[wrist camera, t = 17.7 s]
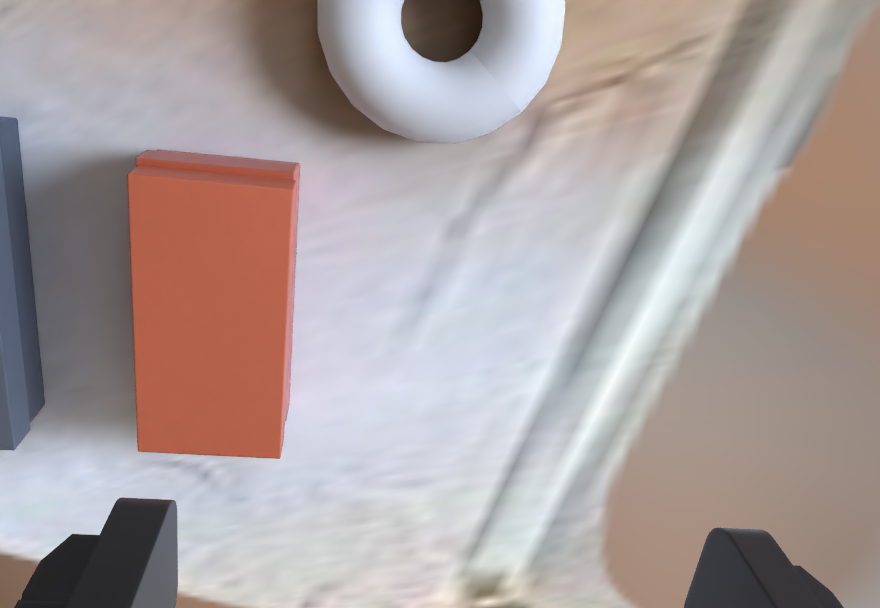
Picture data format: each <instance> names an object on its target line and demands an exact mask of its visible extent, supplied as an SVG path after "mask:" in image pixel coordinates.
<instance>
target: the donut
mask: <svg viewBox="0 0 880 608" xmlns="http://www.w3.org/2000/svg"><path fill="white" fill-rule="evenodd" d="M403 3H404V0H318V35H319V39H320V42H321V45H322V48H323V51H324V54H325V58H326V61H327V64H328V67H329V70H330V73H331V75H332V76H333V77H334V79H335V80H336V82H337V83H338V85H339V86H340V88H341V89H342V91H343V92H344V93H345V95H346V96H347V98H348V99H349V101H350V102H351V104H352V105H353V106H354V107H355V108H357V109H358V110H359V111H360V112H362V113H363V114H364V115H366V116H367V117H368V118H369V119H371V120H372V121H373V122H374V123H376V124H377V125H378V126H380V127H381V128H382V129H384V130H387V131H389V132H392V133H395V134H398V135H400V136H403V137H406V138H409V139H411V140H414V141H417V142H426V143H454V144H455V143H459V142H462V141H466V140H469V139H473V138H476V137H480V136H483V135H487V134H490V133H492V132H493V131H495V130H496V129H498V128H499V127H501V126H502V125H504V124H505V123H507V122H508V121H510V120H511V119H513V118H514V117H516V116H517V115H519V114H520V113H522V111H523V110H524V109H525V108H526V106H527V105H528V104H529V103H530V102H531V100H532V99H533V98H534V97H535V95H536V94H537V93H538V92H539V90H540V89H541V88H542V87H543V86H544V84H545V83H546V81H547V79H548V76H549V74H550V71H551V69H552V67H553V64H554V62H555V59H556V57H557V55H558V52H559V50H560V47H561V42H562V33H563V24H564V14H565V0H480V3H481V8H482V12H483V21H482V29H481V32H480V35H479V37H478V40H477V42H476V43H475V44H474V46H473V47H472V48H471V49H470V51H469V52H467V53H466V54H464V55H463V56H461V57H460V58H459V59H455V60H452V61H448V62H433V61H431V60H428V59H426V58H423V57H421V56H420V55H419V54H418V53H416V52H415V51H414V50H413V49H412V48H411V47H410V45H409V44H408V42H407V40H406V39H405V37H404V34H403V30H402V26H401V9H402V6H403Z"/></svg>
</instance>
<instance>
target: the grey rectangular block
mask: <svg viewBox="0 0 880 608" xmlns="http://www.w3.org/2000/svg"><path fill="white" fill-rule="evenodd" d="M44 404H45V401H44V391H43V381H42V371H41V360H40V350H39V340H38V329H37V319H36V309H35V299H34V288H33V278H32V268H31V257H30V247H29V237H28V227H27V216H26V206H25V196H24V185H23V175H22V165H21V155H20V144H19V134H18V124H17V119H16V118H9V117H0V450H15V449H16V447H17V446H18V445H19V443H20V442H21V441H22V440H23V438H24V437H25V436H26V434H27V433H28V432H29V430H30V422H31V421H32V420H33V418H34V417H35V416H36V415H37V413H38V412H39V411H40V409H41V408H42V407H43V406H44Z"/></svg>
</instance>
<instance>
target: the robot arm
mask: <svg viewBox="0 0 880 608" xmlns="http://www.w3.org/2000/svg"><path fill="white" fill-rule="evenodd" d="M177 587H178V560H177V506H176V502H175V501H174V500H159V499H138V498H119V499H118V500H117V501H116V503H115V505H114V507H113V509H112V511H111V513H110V515H109V517H108V519H107V521H106V523H105V525H104V527H103V529H102V532H101V534H100V535H80V534H72V535H71V536H70V537H68V538H67V539H66V540H65V541H64V542H62V543H61V544H60V545H59V546H58V547H57V548H55V549H54V550H53V551H52V552H51V553H49V554H48V555H47V556H46V557H45V558H44V559H42V560H41V561H40V563H39V565H38V566H37V568H36V570H35V572H34V574H33V575H32V577H31V579H30V581H29V582H28V584H27V586H26V588H25V590H24V591H23V593H22V599H21V600H18V602H17V604H16V606H15V607H14V608H175V606H176V599H177ZM684 608H843V606H842V605H841V604H840V602H839V601H838V600H837V598H836V597H835V596H834V594H833V593H832V592H831V591H830V590H829V589H828V588H826V587H825V586H824V585H822V584H821V583H820V582H819V581H818V580H816V579H815V578H814V577H813V576H812V575H810V574H809V573H808V572H807V571H805V570H804V569H803V568H802V567H801V566H793V565H792V564H791V562H790V561H789V559H788V558H787V557H786V555H785V554H784V552H783V551H782V550H781V548H780V547H779V546H778V544H777V543H776V541H775V540H774V539H773V537H772V536H771V535H770V534H769V533H768V532H766V531H764V530H753V529H731V528H715V529H713V530H712V531H711V532H710V533H709V535H708V536H707V539H706V542H705V544H704V547H703V550H702V553H701V556H700V559H699V562H698V565H697V568H696V571H695V574H694V577H693V580H692V583H691V586H690V589H689V592H688V595H687V598H686V601H685V605H684Z"/></svg>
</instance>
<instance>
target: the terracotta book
mask: <svg viewBox="0 0 880 608" xmlns="http://www.w3.org/2000/svg"><path fill="white" fill-rule="evenodd" d="M127 179H128V205H129V232H130V258H131V285H132V311H133V337H134V364H135V390H136V417H137V443H138V451H139V452H157V453H177V454H197V455H216V456H236V457H256V458H276V459H279V458H280V456H281V451H282V445H283V440H284V423H285V402H286V382H287V362H288V342H289V322H290V302H291V282H292V262H293V241H294V221H295V201H296V181H295V180H289V179H278V178H268V177H258V176H248V175H238V174H227V173H217V172H207V171H197V170H187V169H177V168H166V167H156V166H146V165H139V166H137V167H136V168H135V169H133V170H132V171H131V172H129V173H128V175H127Z"/></svg>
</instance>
